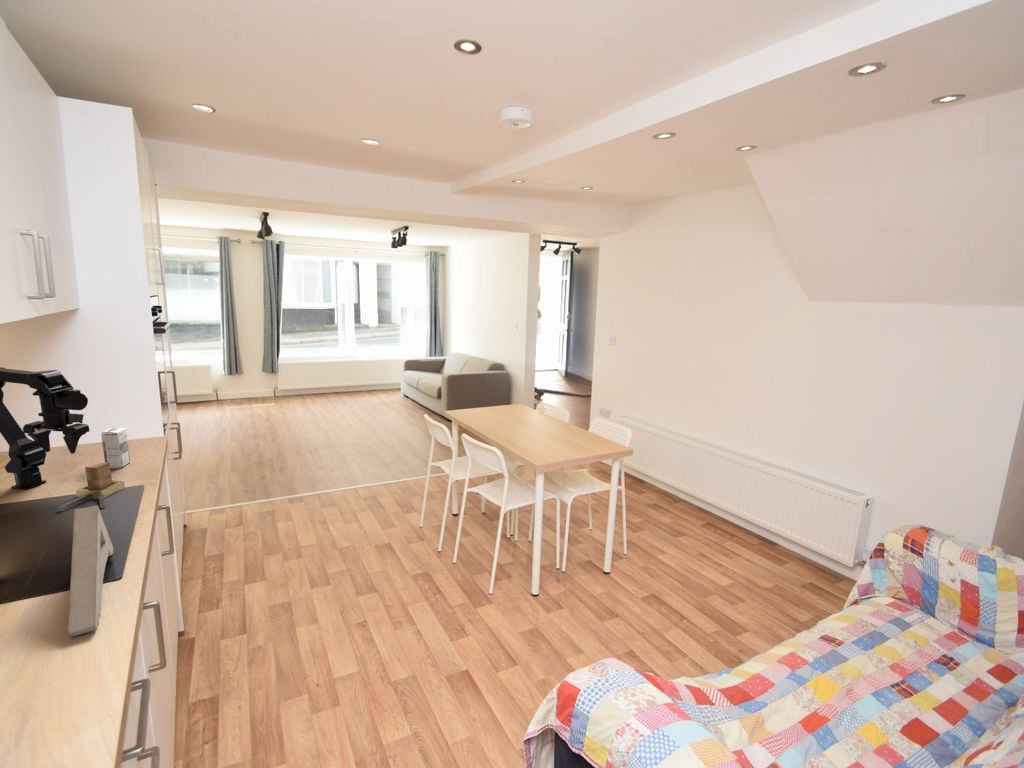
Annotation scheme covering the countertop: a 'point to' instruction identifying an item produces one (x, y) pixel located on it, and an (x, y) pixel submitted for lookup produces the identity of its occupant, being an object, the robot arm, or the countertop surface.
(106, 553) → the wall bracket
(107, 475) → the brown wooden block
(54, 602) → the countertop surface
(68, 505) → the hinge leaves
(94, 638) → the countertop surface
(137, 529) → the countertop surface
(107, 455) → the syrup box
